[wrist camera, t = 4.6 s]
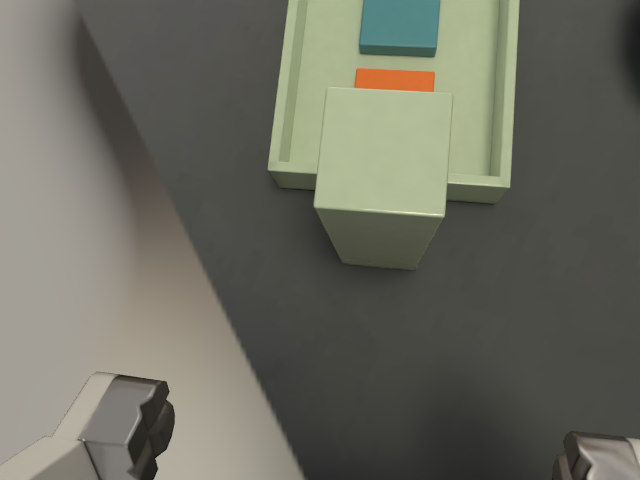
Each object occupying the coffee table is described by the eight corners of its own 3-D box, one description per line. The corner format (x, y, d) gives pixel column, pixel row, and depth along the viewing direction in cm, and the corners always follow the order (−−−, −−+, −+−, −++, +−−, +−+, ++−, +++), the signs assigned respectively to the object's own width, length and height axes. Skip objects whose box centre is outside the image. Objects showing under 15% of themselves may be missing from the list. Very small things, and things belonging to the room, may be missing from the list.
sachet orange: (426, 171, 22) (428, 165, 21) (348, 166, 22) (347, 160, 22) (433, 80, 23) (435, 70, 22) (357, 76, 23) (356, 67, 22)
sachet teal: (435, 57, 23) (437, 48, 22) (359, 54, 23) (358, 44, 22) (441, -28, 24) (443, -41, 23) (367, -30, 24) (367, -42, 23)
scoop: (491, 277, 22) (586, 228, 12) (270, 257, 23) (187, 197, 13) (509, -40, 24) (600, -301, 14) (307, -44, 25) (260, -290, 15)
